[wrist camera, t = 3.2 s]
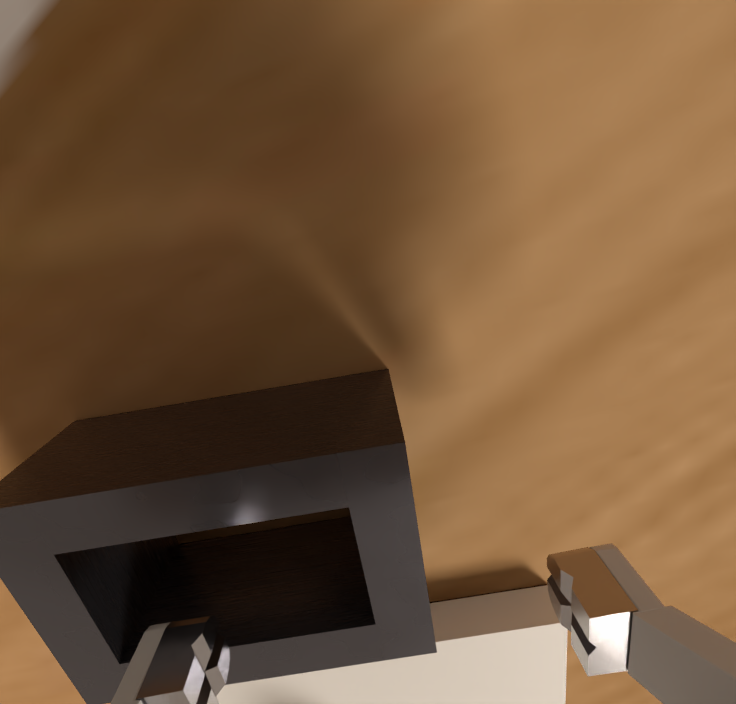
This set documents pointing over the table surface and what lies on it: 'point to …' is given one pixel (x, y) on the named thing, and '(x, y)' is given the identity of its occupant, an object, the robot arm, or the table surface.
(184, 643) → the robot arm
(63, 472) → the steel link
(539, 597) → the keeper plate
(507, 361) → the table surface
